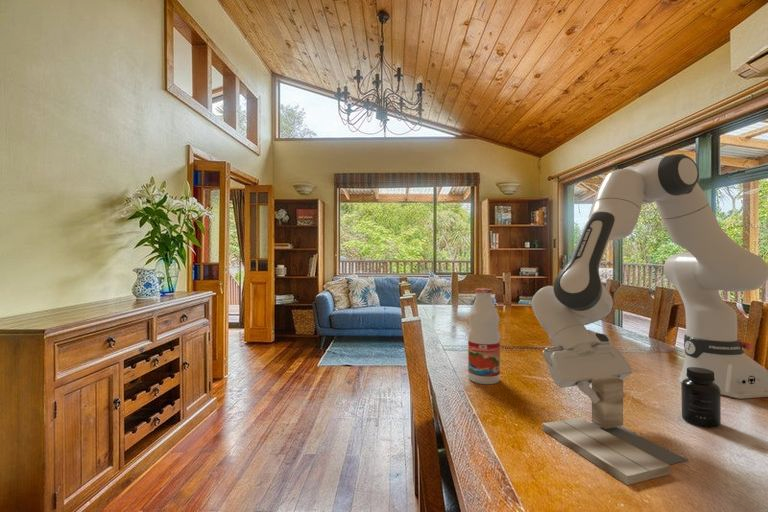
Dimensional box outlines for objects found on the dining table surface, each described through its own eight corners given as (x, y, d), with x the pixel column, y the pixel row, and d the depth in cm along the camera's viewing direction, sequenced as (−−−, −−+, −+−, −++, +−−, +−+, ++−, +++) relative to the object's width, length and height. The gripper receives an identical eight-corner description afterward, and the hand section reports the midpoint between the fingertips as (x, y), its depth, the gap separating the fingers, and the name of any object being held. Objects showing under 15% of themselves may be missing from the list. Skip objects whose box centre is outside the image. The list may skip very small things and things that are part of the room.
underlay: (584, 425, 83) (583, 424, 83) (607, 420, 85) (607, 420, 85) (660, 467, 66) (660, 466, 66) (688, 460, 69) (688, 459, 69)
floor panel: (542, 430, 81) (542, 423, 81) (578, 423, 84) (578, 416, 84) (627, 485, 61) (627, 475, 61) (670, 474, 64) (670, 465, 64)
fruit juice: (501, 376, 115) (501, 287, 115) (497, 386, 107) (497, 290, 106) (471, 372, 119) (471, 286, 119) (465, 382, 110) (465, 289, 110)
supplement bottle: (681, 412, 89) (681, 363, 89) (719, 421, 84) (719, 369, 84) (681, 423, 83) (681, 370, 83) (721, 432, 79) (722, 377, 79)
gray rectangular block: (591, 421, 82) (591, 377, 82) (608, 418, 83) (608, 374, 83) (605, 428, 79) (605, 382, 78) (623, 425, 80) (623, 379, 80)
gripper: (546, 341, 84) (580, 400, 75) (614, 334, 90) (653, 388, 81) (532, 355, 89) (564, 412, 79) (598, 348, 95) (634, 400, 85)
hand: (610, 400), depth 80 cm, fingers closed on gray rectangular block, 5 cm apart
